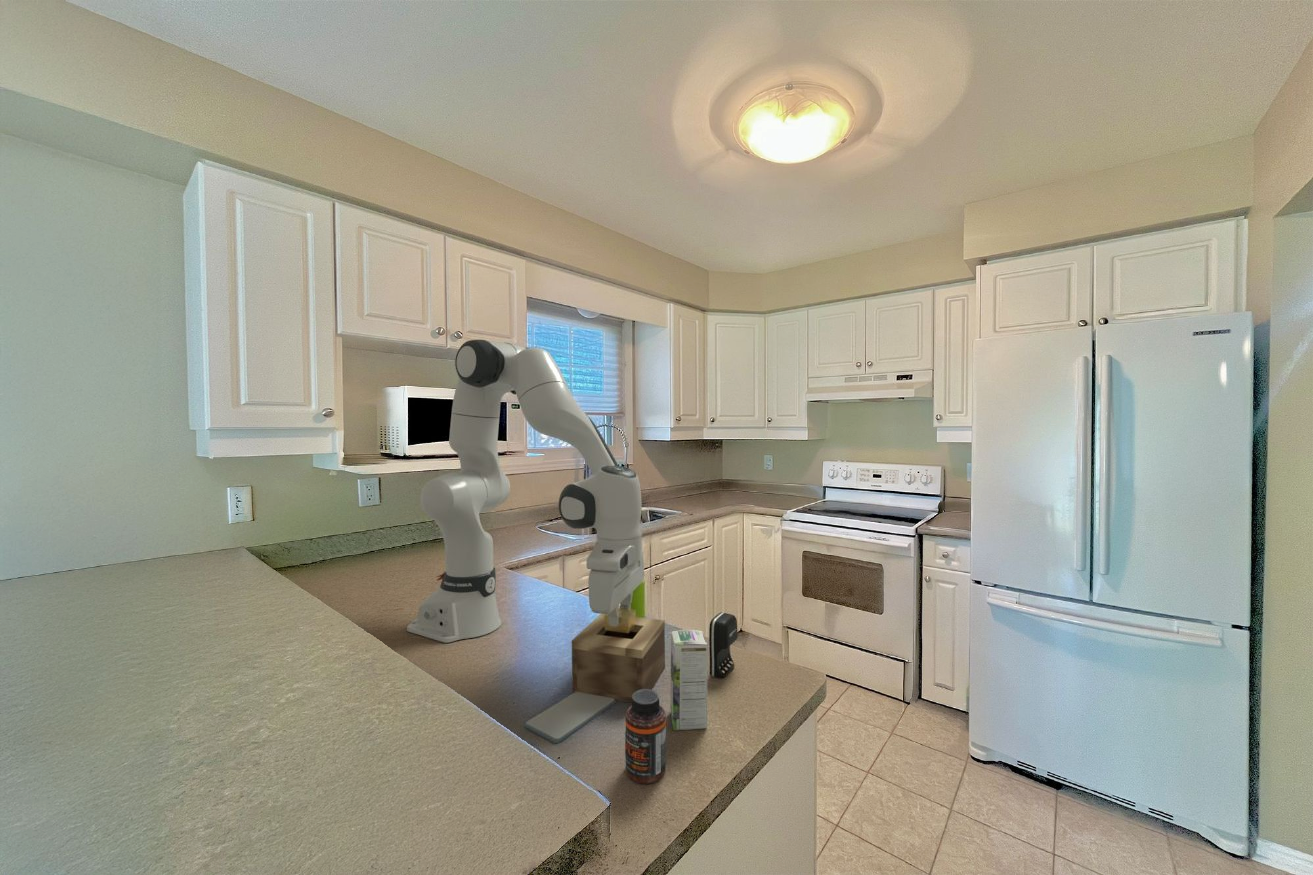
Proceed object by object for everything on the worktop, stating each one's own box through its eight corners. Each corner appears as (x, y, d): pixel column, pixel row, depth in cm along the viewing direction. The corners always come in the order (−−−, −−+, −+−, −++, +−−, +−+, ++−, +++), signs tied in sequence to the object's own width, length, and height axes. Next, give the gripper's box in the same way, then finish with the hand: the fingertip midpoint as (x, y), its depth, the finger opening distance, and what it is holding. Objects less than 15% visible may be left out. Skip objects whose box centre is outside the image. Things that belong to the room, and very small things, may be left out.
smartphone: (617, 699, 92) (557, 740, 80) (617, 704, 92) (557, 746, 80) (584, 685, 97) (522, 722, 85) (584, 690, 97) (522, 728, 85)
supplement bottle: (617, 779, 72) (617, 701, 72) (636, 753, 78) (635, 681, 77) (656, 791, 70) (655, 710, 69) (672, 764, 75) (671, 689, 75)
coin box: (572, 692, 95) (571, 640, 94) (602, 658, 108) (601, 612, 108) (642, 704, 91) (642, 650, 90) (664, 668, 104) (664, 620, 104)
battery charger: (726, 682, 98) (726, 624, 98) (708, 677, 100) (708, 620, 100) (739, 666, 104) (739, 612, 104) (722, 662, 106) (722, 609, 106)
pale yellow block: (604, 630, 98) (604, 614, 98) (612, 622, 102) (612, 607, 102) (628, 633, 96) (628, 617, 96) (635, 625, 100) (635, 610, 100)
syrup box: (669, 711, 89) (669, 630, 88) (702, 709, 89) (702, 628, 89) (673, 731, 83) (672, 644, 82) (709, 729, 83) (708, 643, 83)
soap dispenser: (650, 629, 123) (649, 548, 123) (639, 641, 117) (639, 555, 116) (627, 626, 125) (627, 546, 124) (616, 637, 119) (615, 553, 118)
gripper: (623, 536, 109) (624, 599, 110) (581, 562, 90) (582, 638, 90) (651, 538, 107) (651, 602, 108) (614, 565, 88) (615, 643, 88)
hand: (619, 619), depth 99 cm, fingers closed on pale yellow block, 4 cm apart
